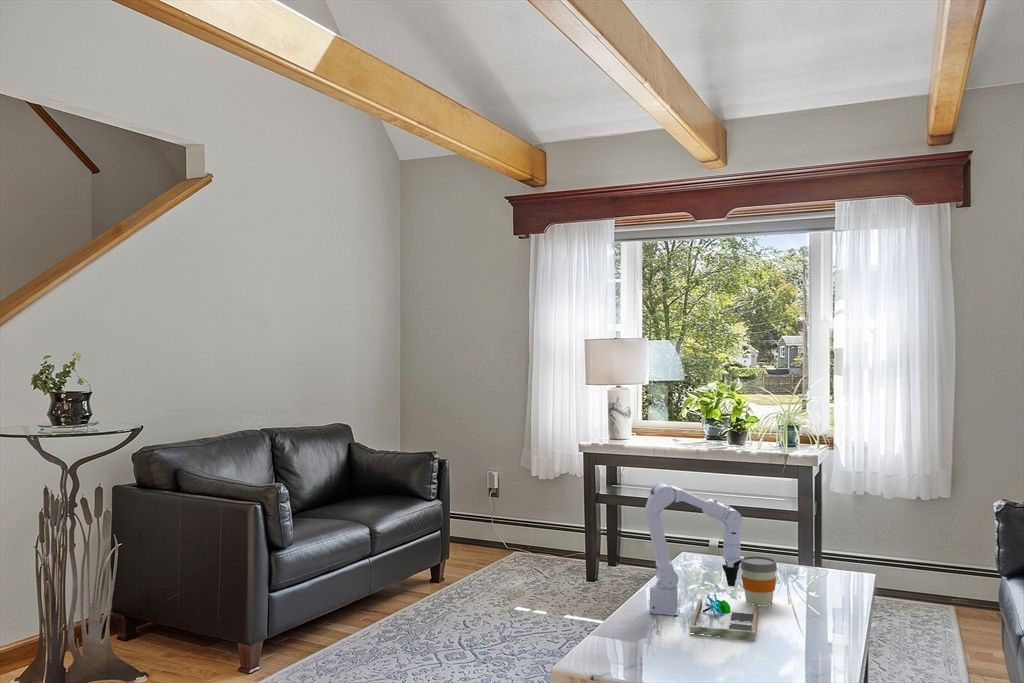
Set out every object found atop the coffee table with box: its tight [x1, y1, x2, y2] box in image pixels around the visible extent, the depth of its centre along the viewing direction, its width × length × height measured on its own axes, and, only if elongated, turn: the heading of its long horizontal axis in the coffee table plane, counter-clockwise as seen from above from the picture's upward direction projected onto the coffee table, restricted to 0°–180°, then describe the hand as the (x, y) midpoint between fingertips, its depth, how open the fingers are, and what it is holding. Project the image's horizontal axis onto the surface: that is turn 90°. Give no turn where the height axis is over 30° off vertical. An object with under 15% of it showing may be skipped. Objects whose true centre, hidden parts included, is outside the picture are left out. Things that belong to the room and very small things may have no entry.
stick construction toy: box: [702, 593, 731, 618], centre depth 285 cm, size 12×7×8 cm
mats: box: [728, 612, 754, 631], centre depth 274 cm, size 7×20×1 cm, turn 162°
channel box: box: [689, 598, 759, 641], centre depth 275 cm, size 20×30×2 cm, turn 162°
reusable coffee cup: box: [740, 555, 778, 607], centre depth 296 cm, size 12×13×15 cm
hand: (732, 583), depth 287 cm, fingers open, 7 cm apart
